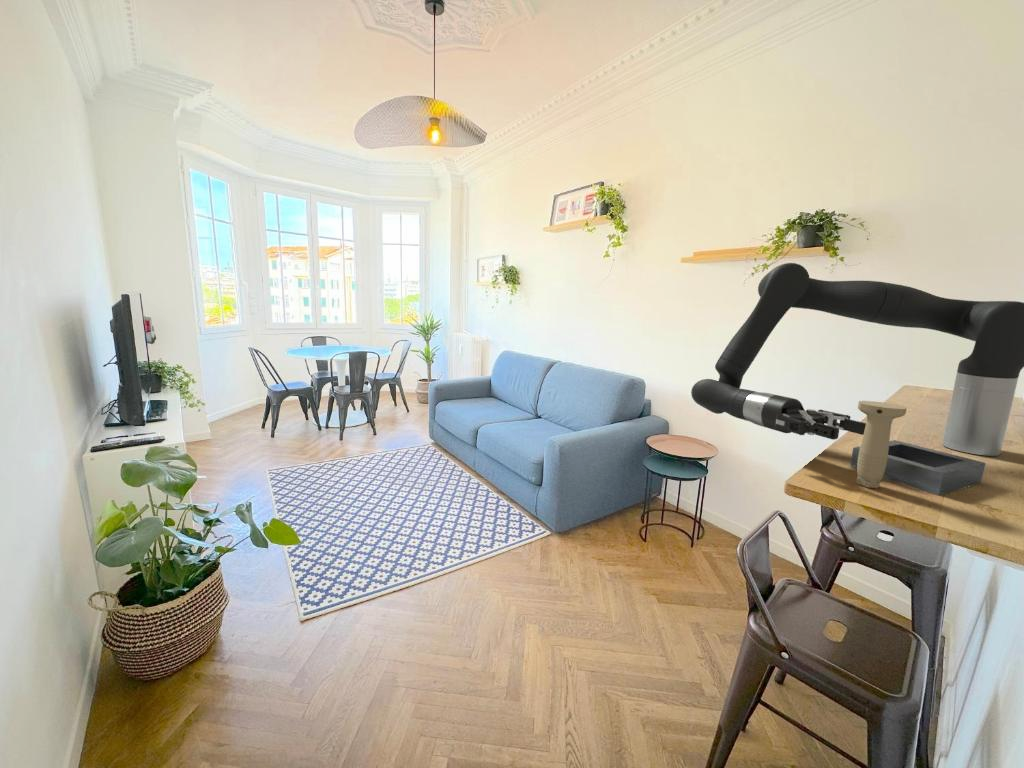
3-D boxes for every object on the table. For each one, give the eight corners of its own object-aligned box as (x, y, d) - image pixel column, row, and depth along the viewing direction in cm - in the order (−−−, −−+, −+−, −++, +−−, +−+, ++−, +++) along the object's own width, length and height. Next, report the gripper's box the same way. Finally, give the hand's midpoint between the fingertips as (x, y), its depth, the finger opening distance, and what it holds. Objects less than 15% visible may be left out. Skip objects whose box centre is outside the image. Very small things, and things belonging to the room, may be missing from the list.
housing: (891, 458, 92) (894, 440, 91) (980, 483, 79) (985, 462, 79) (850, 466, 87) (853, 447, 86) (938, 495, 74) (943, 473, 73)
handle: (889, 495, 74) (905, 410, 71) (843, 483, 79) (856, 403, 76) (892, 487, 77) (907, 405, 75) (847, 476, 82) (860, 399, 79)
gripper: (750, 397, 91) (830, 415, 76) (796, 392, 96) (879, 409, 82) (746, 431, 93) (824, 455, 78) (792, 424, 98) (873, 446, 83)
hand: (852, 431), depth 80 cm, fingers open, 8 cm apart
